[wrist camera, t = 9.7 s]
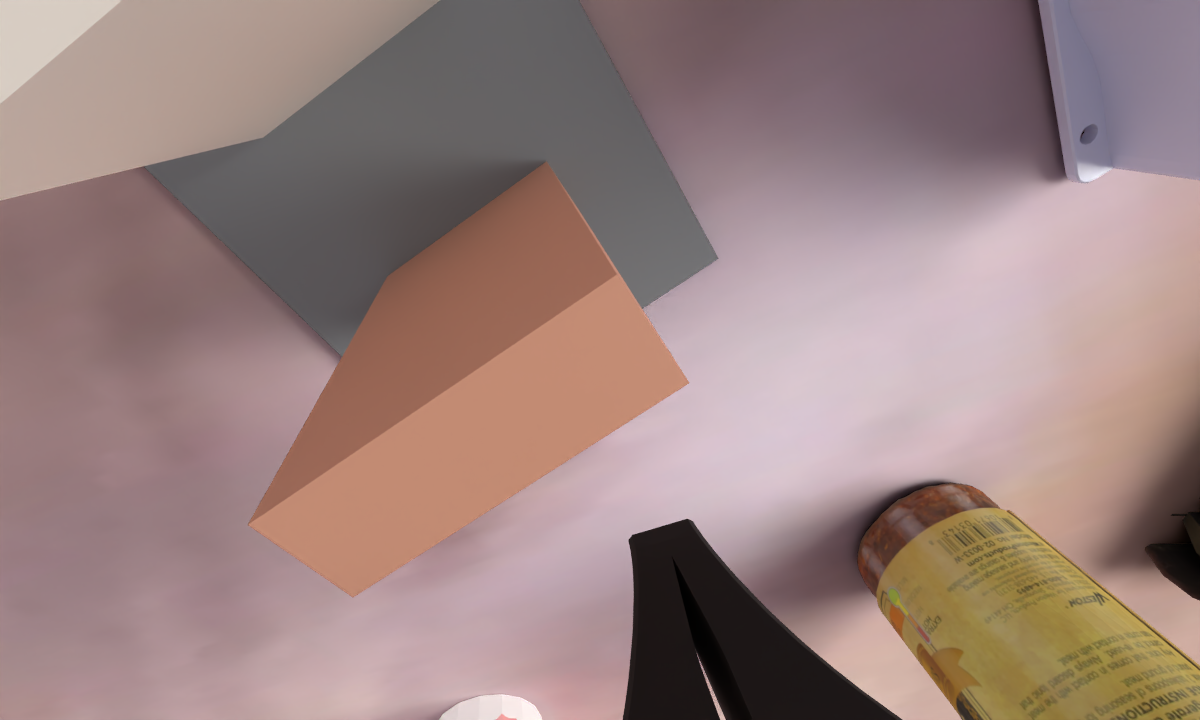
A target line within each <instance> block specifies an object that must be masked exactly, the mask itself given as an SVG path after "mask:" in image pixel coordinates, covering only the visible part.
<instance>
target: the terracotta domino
mask: <svg viewBox="0 0 1200 720" xmlns="http://www.w3.org/2000/svg"><path fill="white" fill-rule="evenodd" d="M687 384H689V382H688V380H687V378H686V377H685V375H684V374H683V372H682V371H681V369H680V367H679V366H678V364H677V363H676V361H675V360H674V358H673V356H672V355H671V353H670V352H669V350H668V349H667V347H666V346H665V344H664V342H663V341H662V339H661V338H660V336H659V335H658V333H657V331H656V330H655V328H654V327H653V325H652V324H651V322H650V320H649V319H648V317H647V316H646V314H645V313H644V311H643V310H642V308H641V306H640V305H639V303H638V302H637V300H636V299H635V297H634V295H633V294H632V292H631V291H630V289H629V288H628V286H627V284H626V283H625V281H624V280H623V278H622V277H621V275H620V273H619V272H618V270H617V269H616V267H615V266H614V264H613V263H612V261H611V259H610V258H609V256H608V255H607V253H606V252H605V250H604V248H603V247H602V245H601V244H600V242H599V241H598V239H597V237H596V236H595V234H594V233H593V231H592V230H591V228H590V226H589V225H588V223H587V222H586V220H585V219H584V217H583V216H582V214H581V213H580V211H579V209H578V208H577V206H576V205H575V203H574V202H573V200H572V199H571V197H570V196H569V194H568V193H567V191H566V190H565V188H564V187H563V185H562V184H561V182H560V181H559V179H558V178H557V176H556V175H555V173H554V172H553V170H552V169H551V167H550V166H549V164H548V163H547V161H546V162H545V163H544V164H542V165H541V166H539V167H538V168H537V169H535V170H534V171H532V172H531V173H530V174H528V175H527V176H526V177H524V178H523V179H521V180H520V181H519V182H517V183H516V184H514V185H513V186H512V187H510V188H509V189H508V190H506V191H505V192H503V193H502V194H501V195H499V196H498V197H496V198H495V199H494V200H492V201H491V202H490V203H488V204H487V205H485V206H484V207H483V208H481V209H480V210H478V211H477V212H476V213H474V214H473V215H471V216H470V217H469V218H467V219H466V220H465V221H463V222H462V223H460V224H459V225H458V226H456V227H455V228H453V229H452V230H451V231H449V232H448V233H447V234H445V235H444V236H442V237H441V238H440V239H438V240H437V241H435V242H434V243H433V244H431V245H430V246H429V247H427V248H426V249H424V250H423V251H422V252H420V253H419V254H417V255H416V256H415V257H413V258H412V259H411V260H409V261H408V262H406V263H405V264H404V265H402V266H401V267H399V268H398V269H397V270H395V271H394V272H393V273H391V274H390V275H388V276H387V278H386V280H385V281H384V283H383V285H382V287H381V289H380V290H379V292H378V294H377V296H376V297H375V299H374V301H373V303H372V305H371V306H370V308H369V310H368V312H367V313H366V315H365V317H364V319H363V321H362V322H361V324H360V326H359V328H358V330H357V331H356V333H355V335H354V337H353V338H352V340H351V342H350V344H349V346H348V347H347V349H346V351H345V353H344V354H343V356H342V358H341V360H340V362H339V363H338V365H337V367H336V369H335V370H334V372H333V374H332V376H331V378H330V379H329V381H328V383H327V385H326V387H325V388H324V390H323V392H322V394H321V395H320V397H319V399H318V401H317V403H316V404H315V406H314V408H313V410H312V411H311V413H310V415H309V417H308V419H307V420H306V422H305V424H304V426H303V427H302V429H301V431H300V433H299V435H298V436H297V438H296V440H295V442H294V444H293V445H292V447H291V449H290V451H289V452H288V454H287V456H286V458H285V460H284V461H283V463H282V465H281V467H280V468H279V470H278V472H277V474H276V476H275V477H274V479H273V481H272V483H271V484H270V486H269V488H268V490H267V492H266V493H265V495H264V497H263V499H262V501H261V502H260V504H259V506H258V508H257V509H256V511H255V513H254V515H253V517H252V518H251V520H250V522H249V524H248V525H249V526H250V527H251V528H253V529H254V530H256V531H257V532H259V533H260V534H262V535H263V536H265V537H266V538H267V539H269V540H270V541H272V542H273V543H275V544H276V545H278V546H279V547H281V548H282V549H283V550H285V551H286V552H288V553H289V554H291V555H292V556H294V557H295V558H296V559H298V560H299V561H301V562H302V563H304V564H305V565H307V566H308V567H310V568H311V569H312V570H314V571H315V572H317V573H318V574H320V575H321V576H323V577H324V578H325V579H327V580H328V581H330V582H331V583H333V584H334V585H336V586H337V587H339V588H340V589H341V590H343V591H344V592H346V593H347V594H349V595H350V596H352V597H354V596H356V595H358V594H359V593H361V592H362V591H364V590H365V589H367V588H369V587H370V586H372V585H373V584H375V583H376V582H378V581H380V580H381V579H383V578H384V577H386V576H387V575H389V574H390V573H392V572H394V571H395V570H397V569H398V568H400V567H401V566H403V565H405V564H406V563H408V562H409V561H411V560H412V559H414V558H416V557H417V556H419V555H420V554H422V553H423V552H425V551H427V550H428V549H430V548H431V547H433V546H434V545H436V544H438V543H439V542H441V541H442V540H444V539H445V538H447V537H449V536H450V535H452V534H453V533H455V532H456V531H458V530H460V529H461V528H463V527H464V526H466V525H467V524H469V523H470V522H472V521H474V520H475V519H477V518H478V517H480V516H481V515H483V514H485V513H486V512H488V511H489V510H491V509H492V508H494V507H496V506H497V505H499V504H500V503H502V502H503V501H505V500H507V499H508V498H510V497H511V496H513V495H514V494H516V493H518V492H519V491H521V490H522V489H524V488H525V487H527V486H529V485H530V484H532V483H533V482H535V481H536V480H538V479H540V478H541V477H543V476H544V475H546V474H547V473H549V472H550V471H552V470H554V469H555V468H557V467H558V466H560V465H561V464H563V463H565V462H566V461H568V460H569V459H571V458H572V457H574V456H576V455H577V454H579V453H580V452H582V451H583V450H585V449H587V448H588V447H590V446H591V445H593V444H594V443H596V442H598V441H599V440H601V439H602V438H604V437H605V436H607V435H609V434H610V433H612V432H613V431H615V430H616V429H618V428H620V427H621V426H623V425H624V424H626V423H627V422H629V421H630V420H632V419H634V418H635V417H637V416H638V415H640V414H641V413H643V412H645V411H646V410H648V409H649V408H651V407H652V406H654V405H656V404H657V403H659V402H660V401H662V400H663V399H665V398H667V397H668V396H670V395H671V394H673V393H674V392H676V391H678V390H679V389H681V388H682V387H684V386H685V385H687Z"/></svg>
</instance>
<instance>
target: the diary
mask: <svg viewBox="0 0 1200 720" xmlns="http://www.w3.org/2000/svg"><path fill="white" fill-rule="evenodd" d="M1171 516H1185V517H1184V518H1183V522H1184V525H1185V527H1186V530H1187V532H1188V535H1189V537H1190V539H1191V542H1192V543H1191V544H1150V545H1148V546H1147V547H1146V548H1145V551H1146V552H1147V554H1148V555H1149V557H1150V558H1151V559H1152V561H1153V562H1154V563H1155V565H1156V566H1157V568H1158V569H1159V570H1160V572H1161V573H1162V574H1163V575H1164V576H1165V577H1166V578H1167V579H1169V580H1170V581H1171V582H1173V583H1174V584H1175V585H1177V586H1178V587H1179V588H1181V589H1182V590H1183V591H1185V592H1186V593H1187V594H1188V595H1190V596H1191V597H1192V598H1195V599H1197V600H1200V512H1188V513H1187V514H1172V515H1171Z"/></svg>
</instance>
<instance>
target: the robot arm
mask: <svg viewBox="0 0 1200 720" xmlns="http://www.w3.org/2000/svg"><path fill="white" fill-rule="evenodd" d="M1038 3H1039V9H1040V15H1041V21H1042V28H1043V34H1044V40H1045V46H1046V53H1047V59H1048V65H1049V71H1050V77H1051V84H1052V90H1053V96H1054V102H1055V109H1056V115H1057V121H1058V127H1059V134H1060V140H1061V146H1062V152H1063V158H1064V165H1065V171H1066V175H1067V178H1068V179H1069V180H1071V181H1072V182H1078V183H1089V182H1091V181H1094V180H1095V179H1097V178H1099V177H1100V176H1102V175H1103V174H1105V173H1107V172H1108V171H1110V170H1111V169H1113V168H1116V169H1123V170H1130V171H1137V172H1145V173H1152V174H1159V175H1166V176H1173V177H1180V178H1187V179H1194V180H1200V0H1038ZM1083 130H1084V134H1083V136H1082V138H1081V139H1080V137H1081V134H1082V132H1083ZM628 541H629V545H630V549H631V556H632V564H633V581H634V609H633V636H632V648H631V659H630V670H629V679H628V687H627V695H626V702H625V709H624V715H623V720H720V718H719V716H718V713H717V710H716V707H715V705H714V702H713V699H712V697H711V694H710V691H709V688H708V686H707V683H706V680H705V677H704V675H703V672H702V669H701V666H700V663H699V660H698V657H699V659H700V661H701V663H702V666H703V668H704V670H705V673H706V675H707V677H708V680H709V682H710V684H711V686H712V689H713V691H714V693H715V696H716V698H717V700H718V703H719V705H720V707H721V709H722V712H723V714H724V716H725V719H726V720H902V719H901V718H899V717H898V716H897V715H895V714H894V713H892V712H891V711H890V710H888V709H887V708H885V707H884V706H883V705H881V704H880V703H879V702H877V701H876V700H874V699H873V698H872V697H870V696H869V695H867V694H866V693H865V692H863V691H862V690H861V689H859V688H858V687H857V686H856V685H854V684H853V683H852V682H851V681H849V680H848V679H847V678H846V677H844V676H843V675H842V674H840V673H839V672H838V671H837V670H835V669H834V668H833V667H832V666H831V665H829V664H828V663H827V662H826V661H825V660H823V659H822V658H821V657H820V656H819V655H817V654H816V653H815V652H814V651H813V650H811V649H810V648H809V647H808V646H807V645H806V644H805V643H804V642H802V641H801V640H800V639H799V638H798V637H797V636H796V635H795V634H793V633H792V632H791V631H790V630H789V629H788V628H787V627H786V626H785V625H784V624H783V623H782V622H781V621H780V620H779V619H777V618H776V617H775V616H774V615H773V614H772V613H771V612H770V611H769V610H768V609H767V608H766V607H765V606H764V605H763V604H762V603H761V602H760V601H759V600H758V599H757V598H756V597H755V596H754V595H753V594H752V593H751V592H750V590H749V589H748V588H747V587H746V586H745V585H744V584H743V583H742V582H741V581H740V580H739V579H738V578H737V577H736V576H735V574H734V573H733V572H732V571H731V570H730V569H729V568H728V567H727V565H726V564H725V563H724V562H723V561H722V560H721V558H720V557H719V556H718V555H717V554H716V552H715V551H714V550H713V549H712V547H711V546H710V545H709V544H708V542H707V541H706V540H705V538H704V537H703V536H702V534H701V533H700V531H699V530H698V529H697V527H696V526H695V524H694V522H693V521H691V520H689V519H685V520H682V521H678V522H675V523H672V524H668V525H665V526H661V527H658V528H655V529H651V530H648V531H645V532H641V533H638V534H634V535H632V536H631V538H630V539H629V540H628ZM696 652H697V653H696ZM697 654H698V657H697Z"/></svg>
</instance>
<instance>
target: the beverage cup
mask: <svg viewBox="0 0 1200 720" xmlns="http://www.w3.org/2000/svg"><path fill="white" fill-rule="evenodd" d="M439 720H542V719H541V715H540V714H539V712H538V710H537V708H536V707H535V705H533V704H531V703H530V702H528V701H526V700H524V699H523V698H521V697H515V696H510V695H504V694H496V695H484V696H478V697H475V698H472V699H469V700H466V701H463V702H460V703H458V704H456V705H455V706H453V707H452V708H451V709H449V710H448V711H446V712H445V713H443V714H442V716H441V717H440V719H439Z"/></svg>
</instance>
